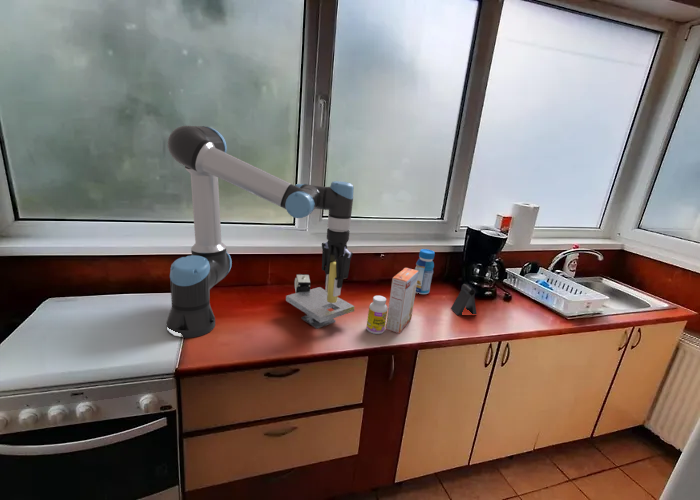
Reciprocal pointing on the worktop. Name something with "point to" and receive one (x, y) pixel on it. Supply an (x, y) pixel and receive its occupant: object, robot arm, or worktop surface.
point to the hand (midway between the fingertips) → (332, 293)
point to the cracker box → (401, 299)
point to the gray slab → (318, 307)
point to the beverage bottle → (424, 271)
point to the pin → (331, 283)
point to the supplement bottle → (377, 315)
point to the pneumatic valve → (302, 283)
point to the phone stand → (465, 300)
